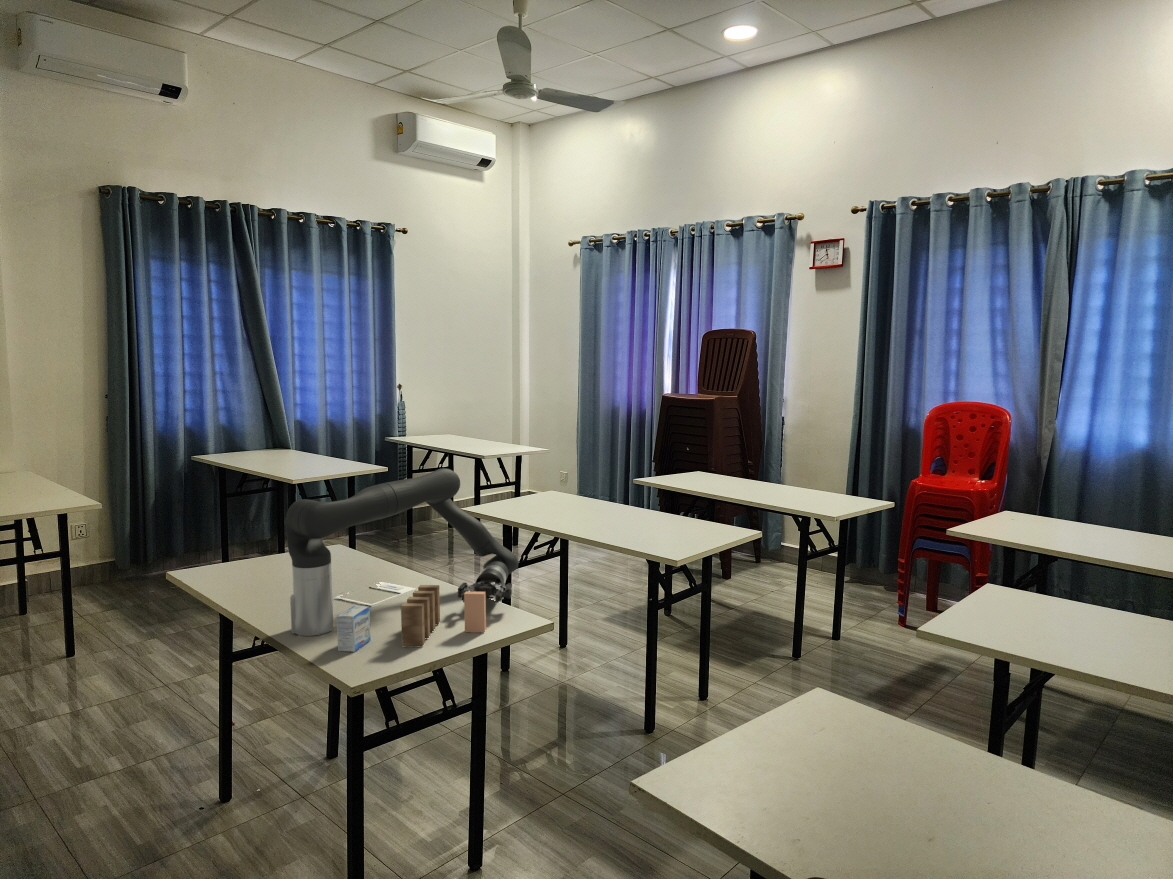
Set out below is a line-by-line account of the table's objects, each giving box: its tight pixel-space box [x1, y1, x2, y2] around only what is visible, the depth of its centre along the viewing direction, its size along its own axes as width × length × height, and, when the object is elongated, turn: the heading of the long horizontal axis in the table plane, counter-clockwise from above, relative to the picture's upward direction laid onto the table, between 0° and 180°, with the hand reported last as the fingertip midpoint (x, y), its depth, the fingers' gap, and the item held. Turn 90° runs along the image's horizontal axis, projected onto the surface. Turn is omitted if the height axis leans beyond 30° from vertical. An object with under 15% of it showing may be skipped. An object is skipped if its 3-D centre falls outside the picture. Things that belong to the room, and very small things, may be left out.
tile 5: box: [400, 602, 426, 647], centre depth 178 cm, size 5×2×10 cm, turn 87°
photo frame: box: [334, 581, 417, 607], centre depth 218 cm, size 15×1×18 cm
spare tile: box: [463, 591, 487, 633], centre depth 188 cm, size 5×2×10 cm, turn 87°
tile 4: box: [406, 596, 431, 639], centre depth 183 cm, size 5×2×10 cm, turn 87°
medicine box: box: [336, 605, 371, 653], centre depth 178 cm, size 8×4×9 cm, turn 168°
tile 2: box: [417, 584, 441, 625], centre depth 193 cm, size 5×2×10 cm, turn 87°
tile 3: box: [412, 590, 436, 632], centre depth 188 cm, size 5×2×10 cm, turn 87°
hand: (480, 598), depth 195 cm, fingers open, 8 cm apart
